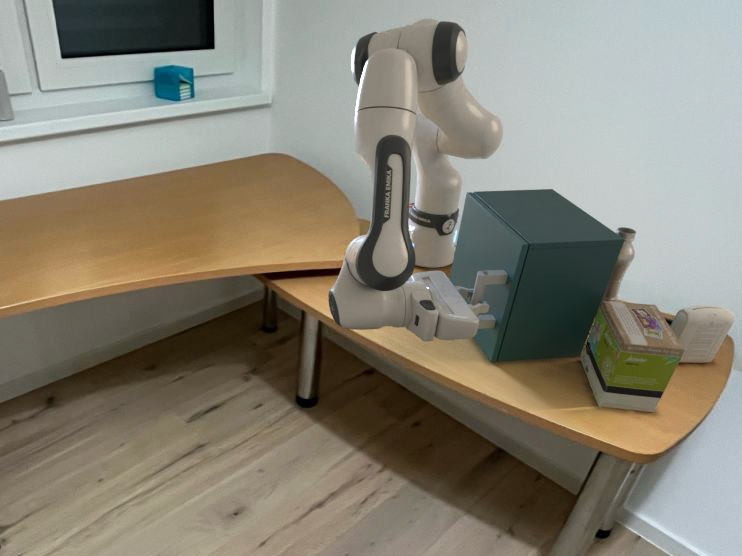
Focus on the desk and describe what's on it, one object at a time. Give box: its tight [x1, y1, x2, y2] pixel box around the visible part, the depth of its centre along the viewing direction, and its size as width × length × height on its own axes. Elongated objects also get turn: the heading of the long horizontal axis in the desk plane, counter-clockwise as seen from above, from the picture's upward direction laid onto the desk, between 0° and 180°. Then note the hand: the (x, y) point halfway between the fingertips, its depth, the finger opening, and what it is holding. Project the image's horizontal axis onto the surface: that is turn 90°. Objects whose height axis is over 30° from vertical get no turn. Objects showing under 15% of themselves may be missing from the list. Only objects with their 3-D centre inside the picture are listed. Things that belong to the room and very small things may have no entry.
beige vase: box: [597, 226, 637, 313], centre depth 127 cm, size 6×7×20 cm
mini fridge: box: [472, 188, 625, 363], centre depth 120 cm, size 18×26×26 cm
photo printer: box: [670, 304, 735, 364], centre depth 114 cm, size 10×4×12 cm, turn 90°
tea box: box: [580, 300, 685, 413], centre depth 105 cm, size 15×10×15 cm, turn 169°
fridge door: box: [449, 191, 529, 363], centre depth 118 cm, size 7×26×26 cm, turn 6°
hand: (482, 300), depth 110 cm, fingers open, 3 cm apart
